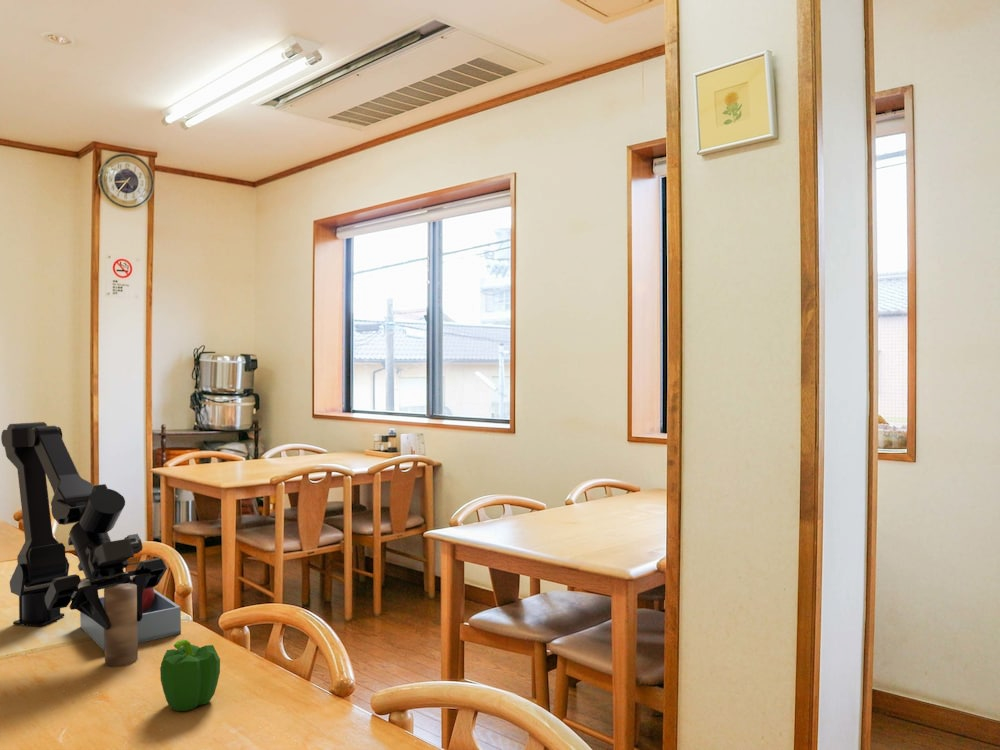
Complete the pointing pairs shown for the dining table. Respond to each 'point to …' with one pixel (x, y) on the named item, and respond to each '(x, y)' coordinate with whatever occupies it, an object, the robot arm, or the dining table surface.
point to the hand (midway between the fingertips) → (124, 624)
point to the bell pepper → (189, 675)
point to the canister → (121, 625)
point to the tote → (143, 622)
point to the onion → (147, 599)
